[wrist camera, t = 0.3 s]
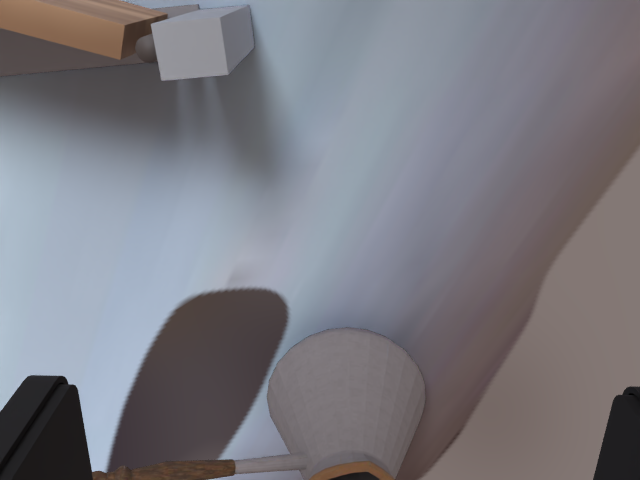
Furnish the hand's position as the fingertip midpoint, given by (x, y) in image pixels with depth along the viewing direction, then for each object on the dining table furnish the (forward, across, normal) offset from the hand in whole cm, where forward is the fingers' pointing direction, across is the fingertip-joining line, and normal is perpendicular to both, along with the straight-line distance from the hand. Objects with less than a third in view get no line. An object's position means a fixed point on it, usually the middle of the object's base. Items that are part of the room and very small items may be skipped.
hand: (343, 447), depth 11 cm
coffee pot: (+31, +3, +19) cm, 36 cm away
